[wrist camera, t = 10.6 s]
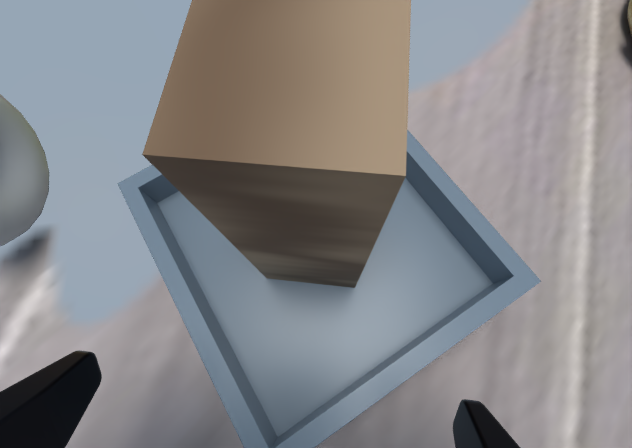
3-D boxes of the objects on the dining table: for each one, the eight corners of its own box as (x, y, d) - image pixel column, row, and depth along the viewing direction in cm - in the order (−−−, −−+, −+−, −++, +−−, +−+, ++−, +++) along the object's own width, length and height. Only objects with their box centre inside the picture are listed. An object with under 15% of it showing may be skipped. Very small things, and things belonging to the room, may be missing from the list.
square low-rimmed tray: (486, 297, 20) (541, 281, 15) (281, 443, 18) (262, 485, 13) (342, 119, 24) (345, 60, 19) (166, 220, 22) (117, 183, 17)
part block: (361, 205, 18) (411, -19, 7) (354, 287, 17) (406, 176, 5) (279, 198, 19) (200, -27, 7) (266, 278, 17) (141, 154, 6)
